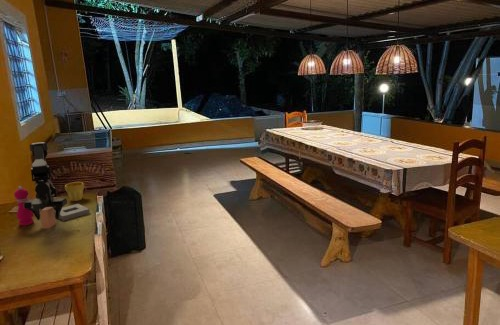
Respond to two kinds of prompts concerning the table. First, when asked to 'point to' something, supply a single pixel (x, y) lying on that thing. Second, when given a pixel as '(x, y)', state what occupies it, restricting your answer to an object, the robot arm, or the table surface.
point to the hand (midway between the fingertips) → (48, 219)
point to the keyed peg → (47, 217)
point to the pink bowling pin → (22, 213)
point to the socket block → (72, 212)
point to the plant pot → (75, 190)
